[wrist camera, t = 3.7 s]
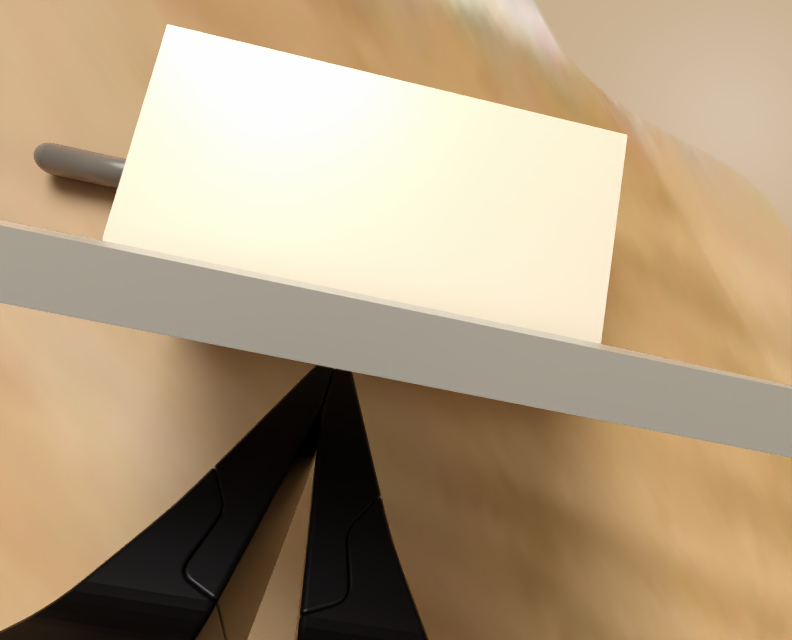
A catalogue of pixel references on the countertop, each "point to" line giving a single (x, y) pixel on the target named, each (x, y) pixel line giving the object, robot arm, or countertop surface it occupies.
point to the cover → (387, 339)
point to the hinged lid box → (364, 186)
